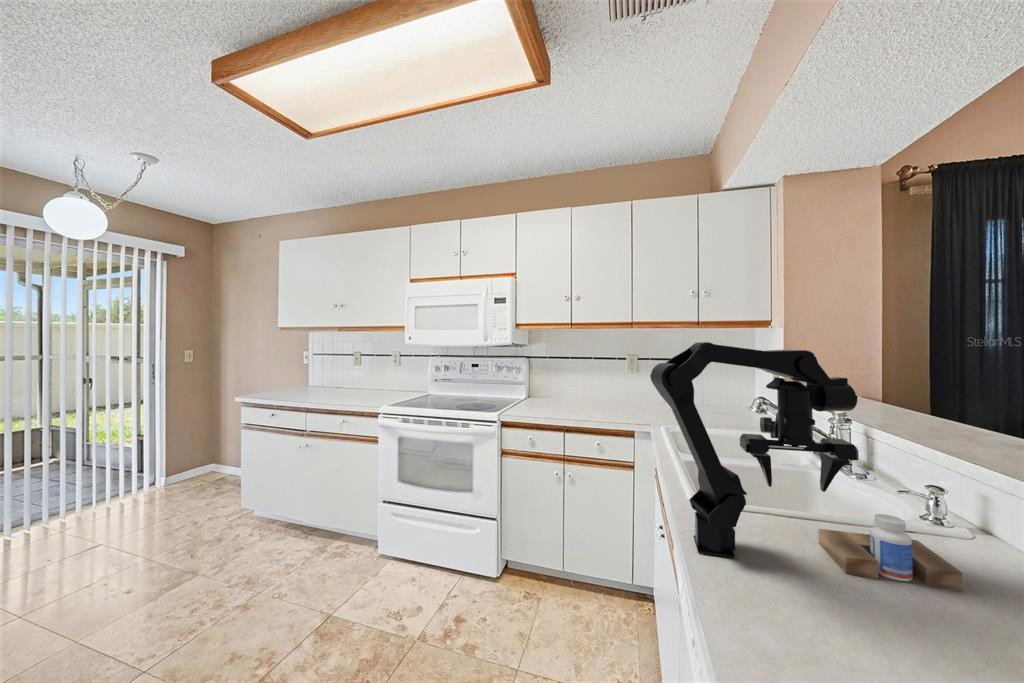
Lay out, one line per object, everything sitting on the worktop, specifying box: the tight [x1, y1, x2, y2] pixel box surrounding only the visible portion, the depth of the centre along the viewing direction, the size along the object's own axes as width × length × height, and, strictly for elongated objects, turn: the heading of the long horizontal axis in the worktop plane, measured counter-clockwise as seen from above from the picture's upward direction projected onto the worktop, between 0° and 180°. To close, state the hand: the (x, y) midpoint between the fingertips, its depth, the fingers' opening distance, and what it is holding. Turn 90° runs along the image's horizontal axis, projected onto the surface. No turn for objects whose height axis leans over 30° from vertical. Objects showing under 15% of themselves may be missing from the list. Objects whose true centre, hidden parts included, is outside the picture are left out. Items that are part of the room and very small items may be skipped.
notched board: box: [817, 528, 964, 592], centre depth 72 cm, size 16×11×3 cm
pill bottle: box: [869, 513, 914, 582], centre depth 69 cm, size 6×5×10 cm
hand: (795, 488), depth 78 cm, fingers open, 9 cm apart
